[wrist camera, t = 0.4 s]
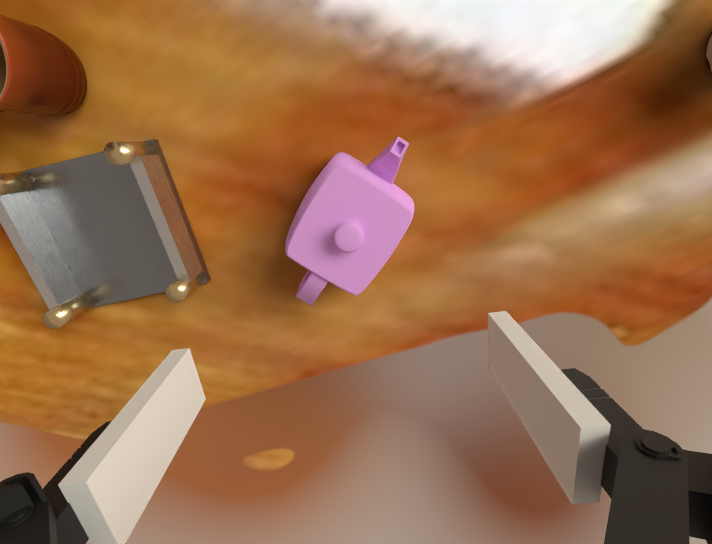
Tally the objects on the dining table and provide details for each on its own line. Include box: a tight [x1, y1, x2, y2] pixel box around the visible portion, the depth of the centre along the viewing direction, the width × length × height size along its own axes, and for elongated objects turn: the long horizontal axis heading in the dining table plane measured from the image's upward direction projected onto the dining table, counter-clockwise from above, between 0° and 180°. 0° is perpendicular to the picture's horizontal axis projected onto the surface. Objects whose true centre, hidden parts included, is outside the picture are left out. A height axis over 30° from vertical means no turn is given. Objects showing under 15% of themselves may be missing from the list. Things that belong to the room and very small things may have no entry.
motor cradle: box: [0, 140, 211, 329], centre depth 38 cm, size 16×16×6 cm
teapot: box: [285, 136, 414, 306], centre depth 36 cm, size 18×10×10 cm, turn 148°
